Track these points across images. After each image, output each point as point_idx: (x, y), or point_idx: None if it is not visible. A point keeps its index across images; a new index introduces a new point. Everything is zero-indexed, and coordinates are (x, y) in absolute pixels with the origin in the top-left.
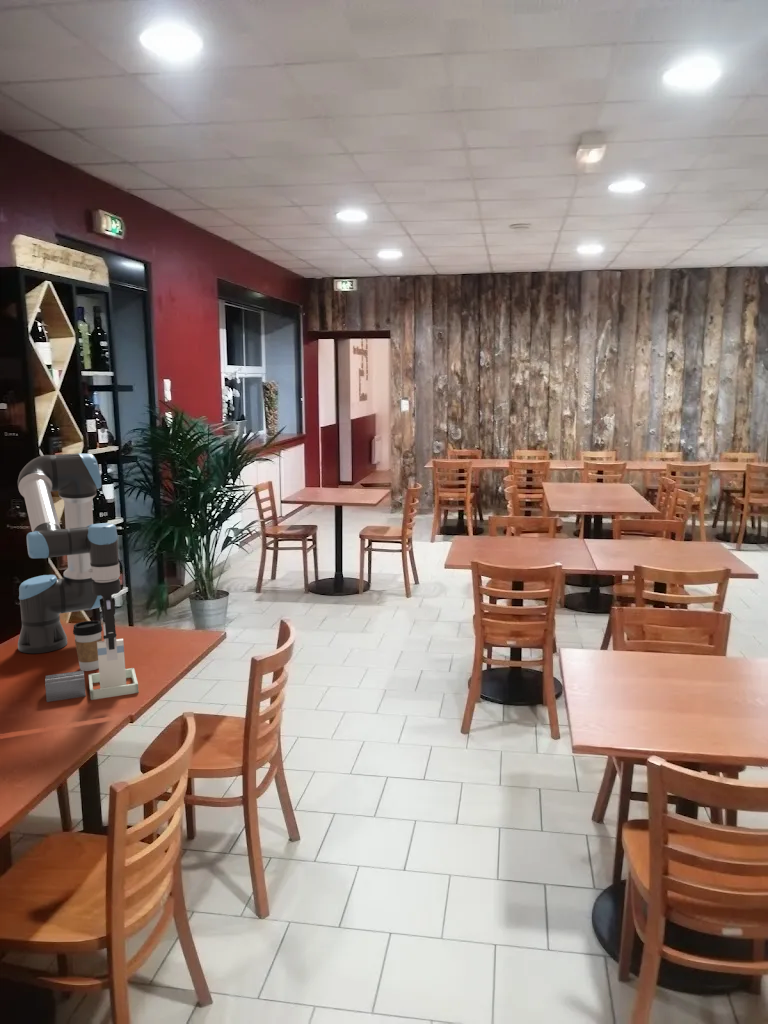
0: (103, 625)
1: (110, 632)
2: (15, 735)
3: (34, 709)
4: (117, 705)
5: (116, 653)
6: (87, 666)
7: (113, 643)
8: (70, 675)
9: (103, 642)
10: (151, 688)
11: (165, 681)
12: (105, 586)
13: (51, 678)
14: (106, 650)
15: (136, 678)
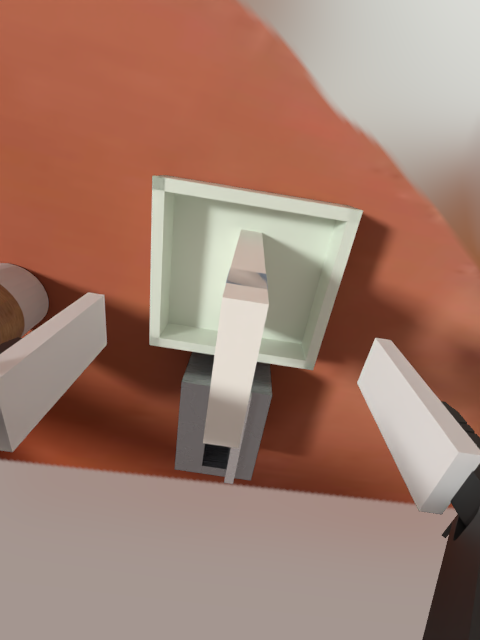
0: (20, 440)
1: (58, 354)
2: (379, 492)
3: (260, 451)
4: (377, 289)
5: (405, 364)
6: (33, 320)
7: (478, 443)
8: None
9: (238, 419)
10: (304, 136)
11: (260, 44)
12: None
13: (226, 470)
14: (380, 424)
15: (293, 199)
